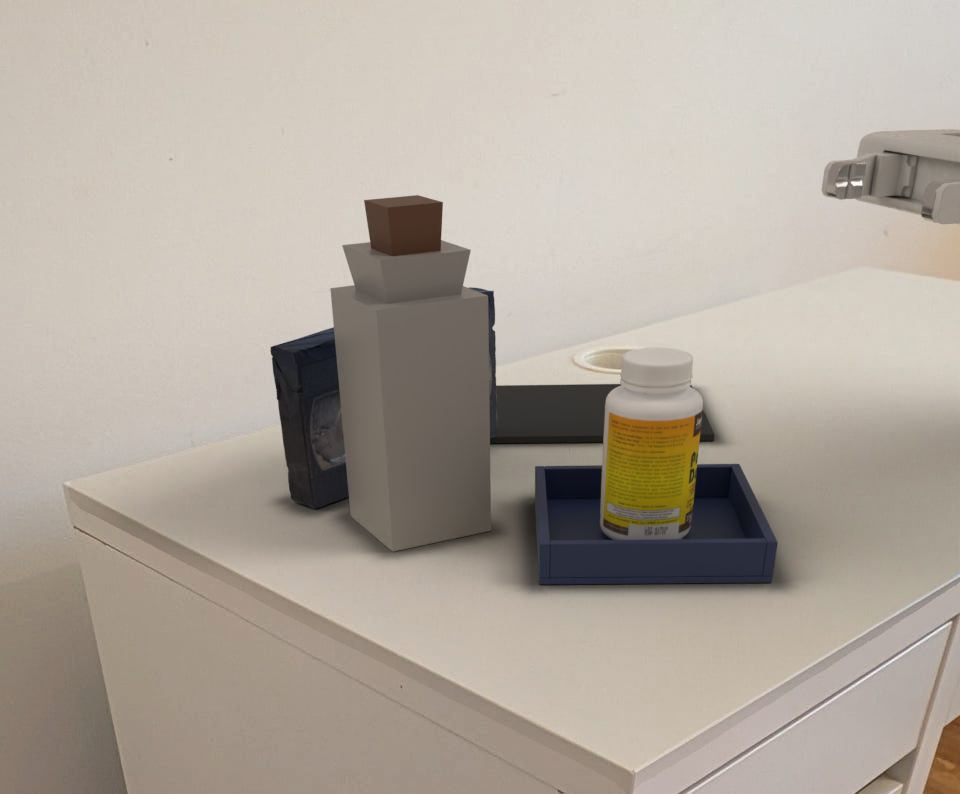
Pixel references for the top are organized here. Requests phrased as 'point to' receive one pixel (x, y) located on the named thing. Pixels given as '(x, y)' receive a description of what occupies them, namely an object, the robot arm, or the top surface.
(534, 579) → the top surface
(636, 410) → the supplement bottle
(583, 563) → the box
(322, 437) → the vhs cassette tape
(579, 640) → the top surface
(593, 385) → the mat
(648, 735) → the top surface
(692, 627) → the top surface
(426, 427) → the perfume bottle
